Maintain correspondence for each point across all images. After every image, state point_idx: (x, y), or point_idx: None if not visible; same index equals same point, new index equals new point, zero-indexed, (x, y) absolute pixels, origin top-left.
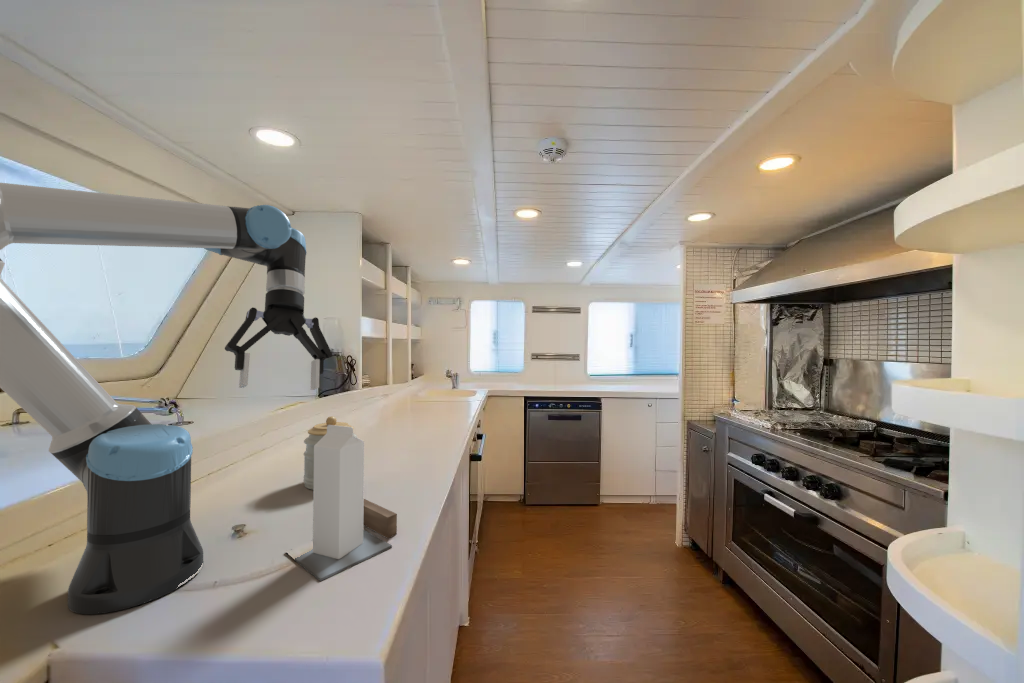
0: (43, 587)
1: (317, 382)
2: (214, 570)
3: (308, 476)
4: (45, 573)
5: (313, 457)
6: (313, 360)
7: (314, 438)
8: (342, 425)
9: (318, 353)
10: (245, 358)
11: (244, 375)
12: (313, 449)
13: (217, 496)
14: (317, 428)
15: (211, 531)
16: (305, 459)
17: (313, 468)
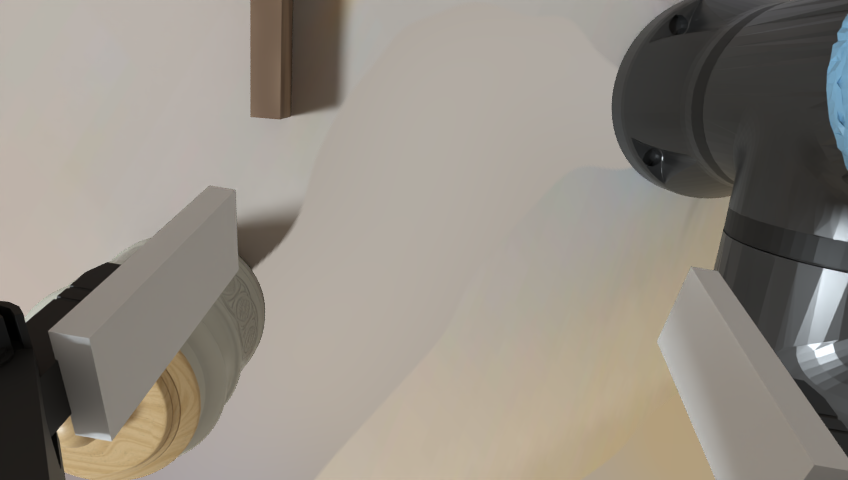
0: None
1: (204, 204)
2: (617, 19)
3: (255, 316)
4: None
5: (231, 321)
6: (102, 400)
7: (197, 370)
8: None
9: (4, 393)
10: (819, 420)
11: (742, 313)
12: (218, 343)
13: (440, 437)
14: (165, 398)
15: (538, 228)
16: (242, 361)
17: (241, 307)
